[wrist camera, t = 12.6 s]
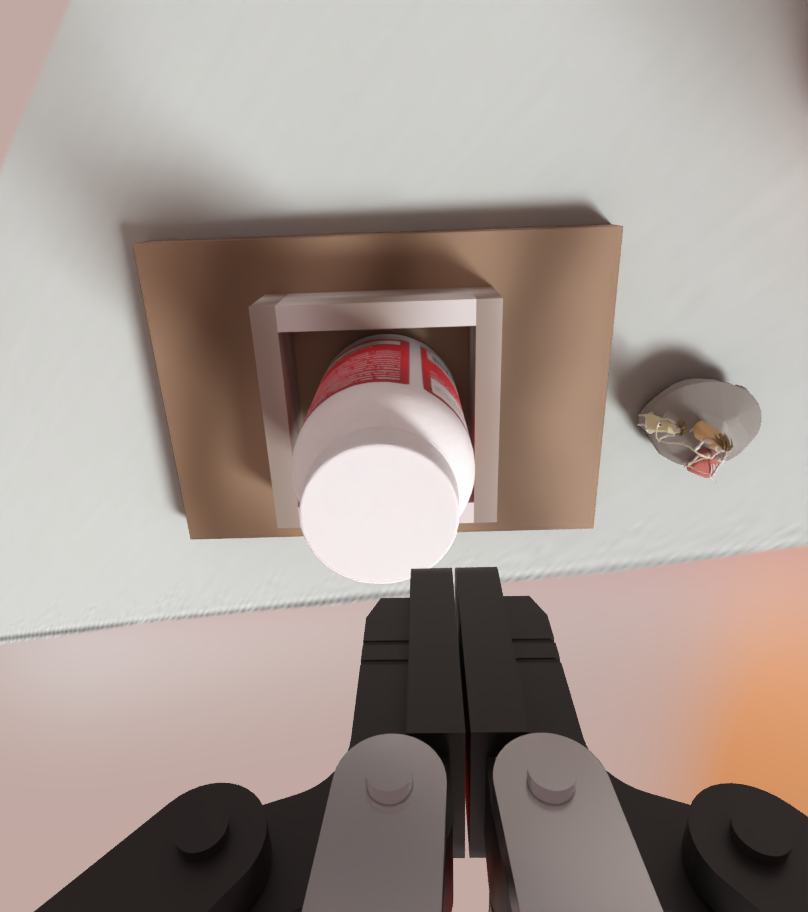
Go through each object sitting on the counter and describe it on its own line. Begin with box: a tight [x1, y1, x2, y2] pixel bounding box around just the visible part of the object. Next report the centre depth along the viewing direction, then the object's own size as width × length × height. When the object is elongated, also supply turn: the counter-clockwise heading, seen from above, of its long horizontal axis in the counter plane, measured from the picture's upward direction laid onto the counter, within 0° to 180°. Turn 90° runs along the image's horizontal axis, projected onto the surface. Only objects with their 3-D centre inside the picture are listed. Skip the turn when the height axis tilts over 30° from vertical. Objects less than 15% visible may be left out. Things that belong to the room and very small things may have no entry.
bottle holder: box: [132, 224, 623, 539], centre depth 27 cm, size 20×14×4 cm
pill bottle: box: [292, 334, 475, 584], centre depth 23 cm, size 6×6×11 cm
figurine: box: [637, 378, 761, 482], centre depth 27 cm, size 5×4×6 cm
